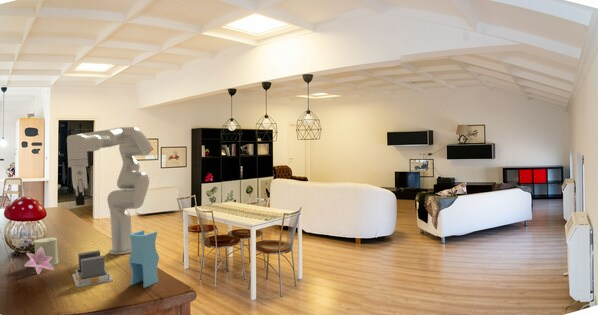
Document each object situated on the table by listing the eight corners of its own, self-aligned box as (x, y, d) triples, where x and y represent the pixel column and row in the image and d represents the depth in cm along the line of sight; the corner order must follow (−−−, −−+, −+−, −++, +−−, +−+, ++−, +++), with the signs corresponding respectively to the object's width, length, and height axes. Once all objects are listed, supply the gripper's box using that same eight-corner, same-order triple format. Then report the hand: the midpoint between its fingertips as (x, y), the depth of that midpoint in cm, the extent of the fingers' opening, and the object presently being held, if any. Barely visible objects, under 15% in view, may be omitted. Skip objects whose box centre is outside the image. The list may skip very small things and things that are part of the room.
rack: (105, 269, 180) (104, 248, 180) (112, 280, 165) (111, 257, 165) (72, 275, 173) (70, 253, 173) (76, 288, 158) (75, 263, 158)
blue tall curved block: (160, 280, 164) (157, 231, 163) (145, 287, 157) (142, 236, 156) (145, 278, 167) (143, 230, 166) (130, 285, 160) (127, 234, 159)
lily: (19, 280, 173) (28, 261, 171) (17, 263, 181) (25, 245, 180) (50, 281, 181) (59, 263, 180) (47, 265, 189) (55, 248, 188)
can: (47, 267, 186) (46, 241, 185) (30, 266, 187) (28, 241, 187) (63, 261, 195) (61, 236, 194) (46, 260, 196) (45, 236, 196)
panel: (103, 277, 168) (102, 255, 168) (105, 279, 166) (103, 257, 165) (81, 281, 164) (80, 259, 163) (83, 283, 161) (81, 261, 161)
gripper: (90, 163, 174) (92, 206, 174) (85, 162, 186) (87, 202, 187) (69, 164, 169) (72, 208, 170) (66, 163, 182) (69, 204, 183)
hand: (80, 204), depth 179 cm, fingers closed
